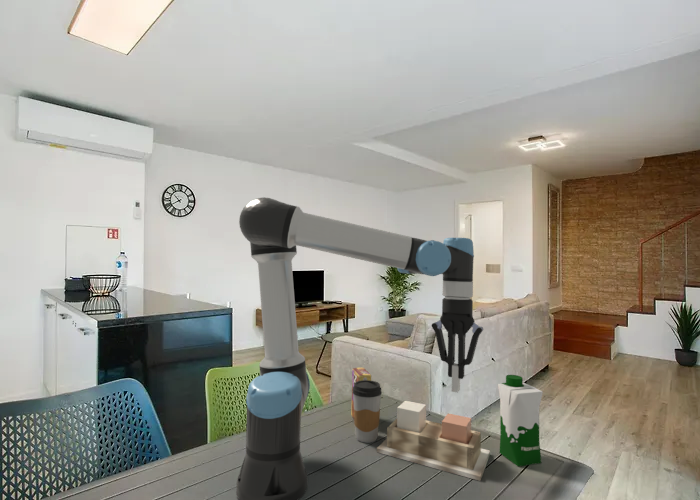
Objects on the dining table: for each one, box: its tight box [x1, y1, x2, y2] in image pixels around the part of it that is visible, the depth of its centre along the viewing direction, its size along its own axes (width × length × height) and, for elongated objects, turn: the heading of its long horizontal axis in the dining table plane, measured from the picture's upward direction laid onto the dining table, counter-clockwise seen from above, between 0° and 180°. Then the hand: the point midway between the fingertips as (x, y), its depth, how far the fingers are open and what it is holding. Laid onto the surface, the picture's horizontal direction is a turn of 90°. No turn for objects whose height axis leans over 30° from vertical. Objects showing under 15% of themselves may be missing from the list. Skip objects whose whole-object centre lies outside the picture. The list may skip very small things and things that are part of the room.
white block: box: [396, 400, 427, 433], centre depth 102 cm, size 6×6×7 cm
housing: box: [376, 418, 491, 482], centre depth 99 cm, size 26×14×6 cm, turn 61°
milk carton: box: [497, 374, 544, 467], centre depth 98 cm, size 9×9×20 cm
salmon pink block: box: [441, 413, 472, 444], centre depth 96 cm, size 6×6×7 cm
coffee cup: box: [351, 380, 383, 444], centre depth 108 cm, size 8×8×15 cm
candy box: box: [350, 367, 372, 420], centre depth 120 cm, size 9×4×15 cm, turn 13°
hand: (455, 390), depth 97 cm, fingers closed
